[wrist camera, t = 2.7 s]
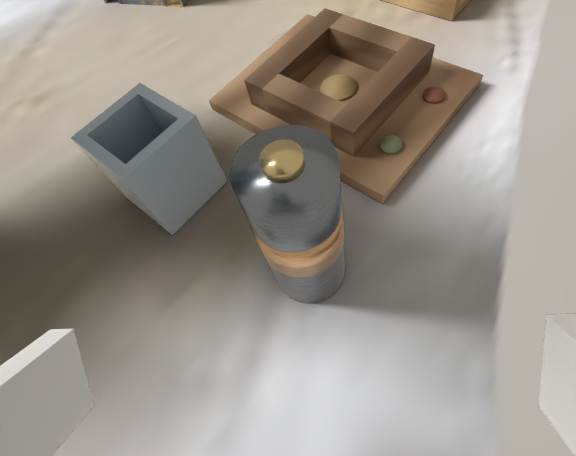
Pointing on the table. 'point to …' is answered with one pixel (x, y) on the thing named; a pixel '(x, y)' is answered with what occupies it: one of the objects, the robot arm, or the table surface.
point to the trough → (434, 7)
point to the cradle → (352, 95)
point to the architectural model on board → (154, 2)
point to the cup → (154, 156)
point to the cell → (294, 207)
